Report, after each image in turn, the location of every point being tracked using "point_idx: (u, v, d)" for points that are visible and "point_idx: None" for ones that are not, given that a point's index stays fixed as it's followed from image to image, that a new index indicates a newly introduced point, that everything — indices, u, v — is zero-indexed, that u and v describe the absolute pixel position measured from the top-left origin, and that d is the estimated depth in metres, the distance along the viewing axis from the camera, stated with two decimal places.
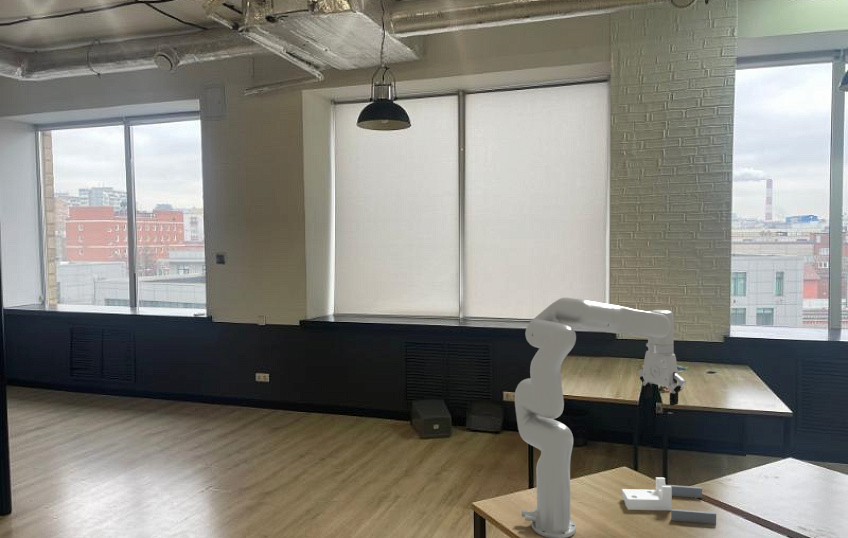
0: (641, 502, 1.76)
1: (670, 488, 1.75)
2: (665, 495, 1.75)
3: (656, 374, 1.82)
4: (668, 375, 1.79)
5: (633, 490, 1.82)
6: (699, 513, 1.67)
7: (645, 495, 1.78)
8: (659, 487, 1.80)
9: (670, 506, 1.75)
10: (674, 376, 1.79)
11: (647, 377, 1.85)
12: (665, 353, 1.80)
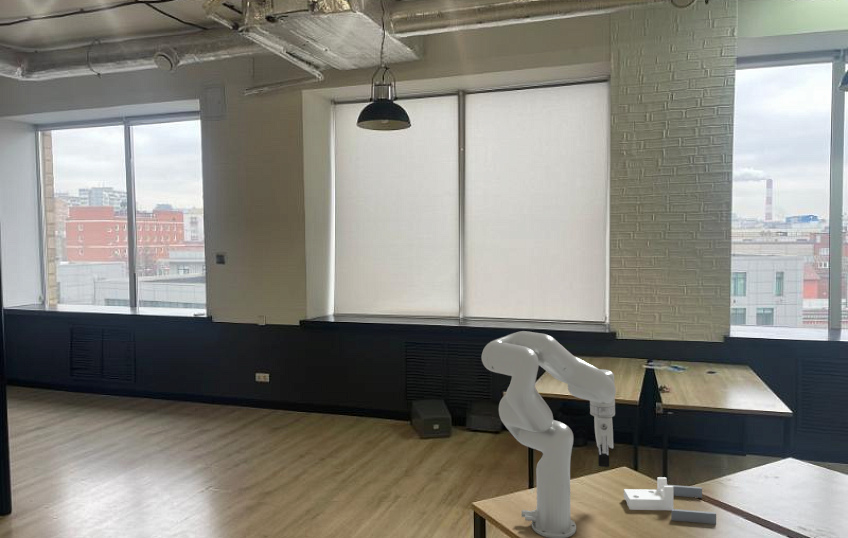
0: (643, 502, 1.76)
1: (672, 488, 1.75)
2: (667, 495, 1.75)
3: None
4: None
5: (635, 490, 1.82)
6: (699, 513, 1.67)
7: (647, 495, 1.78)
8: (661, 487, 1.80)
9: (672, 506, 1.75)
10: None
11: None
12: None
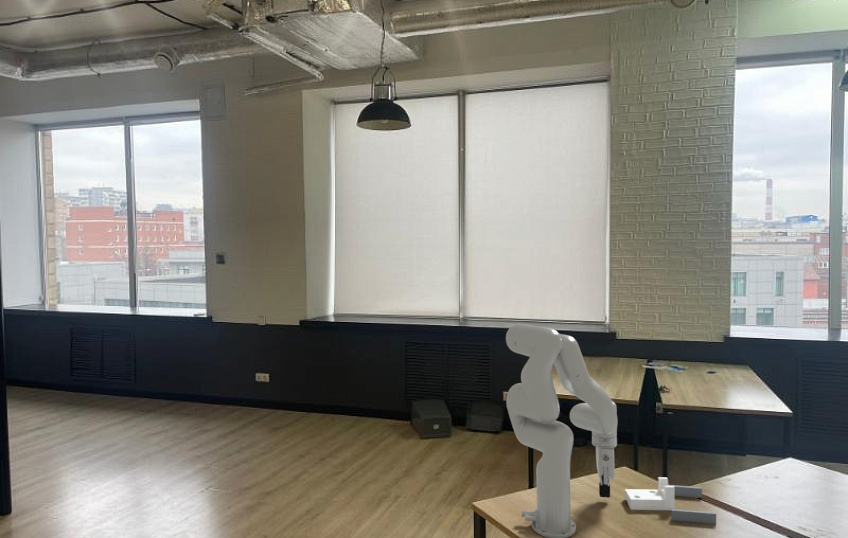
0: (644, 503, 1.76)
1: (673, 488, 1.75)
2: (668, 495, 1.75)
3: None
4: None
5: (636, 490, 1.82)
6: (699, 513, 1.67)
7: (648, 495, 1.78)
8: (662, 487, 1.80)
9: (673, 506, 1.75)
10: None
11: None
12: None
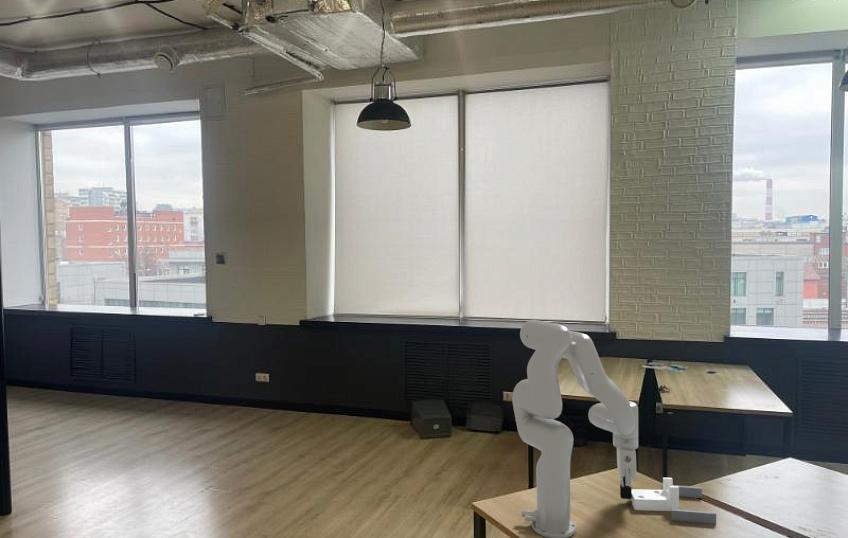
0: (649, 503, 1.75)
1: (677, 488, 1.74)
2: (672, 496, 1.74)
3: None
4: None
5: (640, 490, 1.81)
6: (699, 513, 1.67)
7: (652, 496, 1.78)
8: (666, 487, 1.79)
9: (677, 506, 1.74)
10: None
11: None
12: None
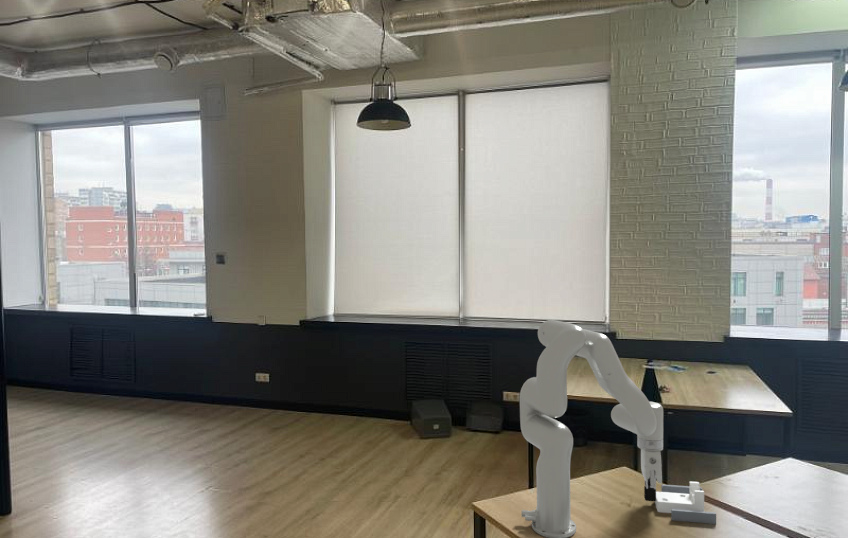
0: (672, 506, 1.73)
1: (702, 493, 1.71)
2: (697, 500, 1.71)
3: None
4: None
5: (665, 493, 1.79)
6: (699, 513, 1.67)
7: (677, 499, 1.75)
8: (692, 491, 1.76)
9: None
10: None
11: None
12: None
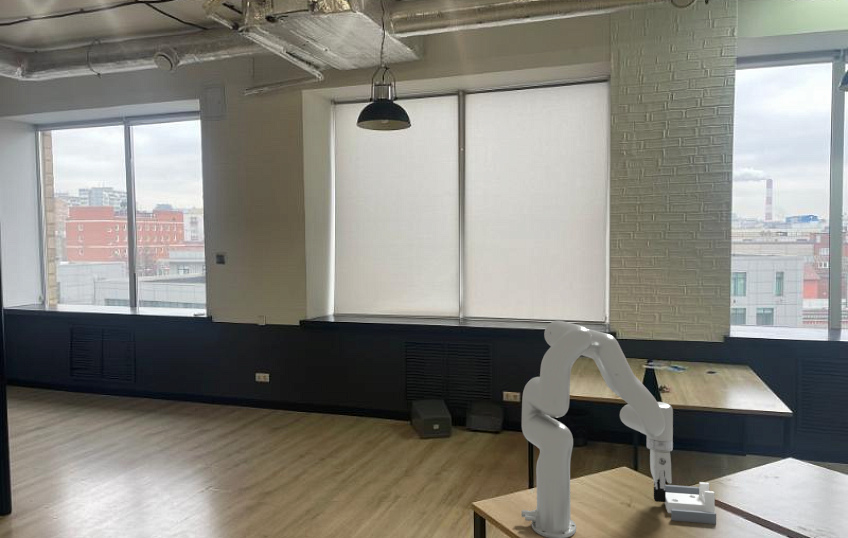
0: (682, 507, 1.73)
1: (713, 494, 1.70)
2: (707, 501, 1.71)
3: None
4: None
5: (675, 494, 1.79)
6: (699, 513, 1.67)
7: (687, 500, 1.75)
8: (702, 492, 1.76)
9: None
10: None
11: None
12: None
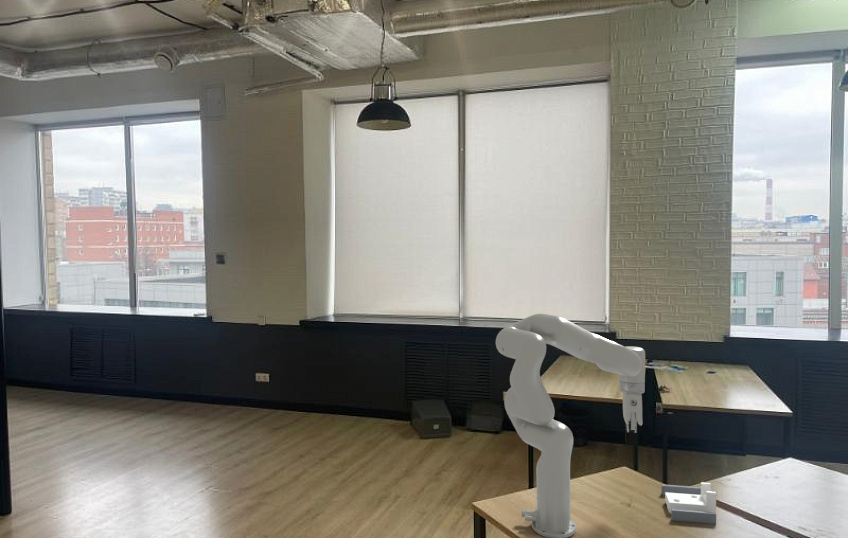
0: (684, 507, 1.72)
1: (714, 494, 1.70)
2: (709, 501, 1.71)
3: None
4: None
5: (676, 494, 1.78)
6: (699, 513, 1.67)
7: (688, 500, 1.74)
8: (704, 492, 1.75)
9: None
10: None
11: None
12: None
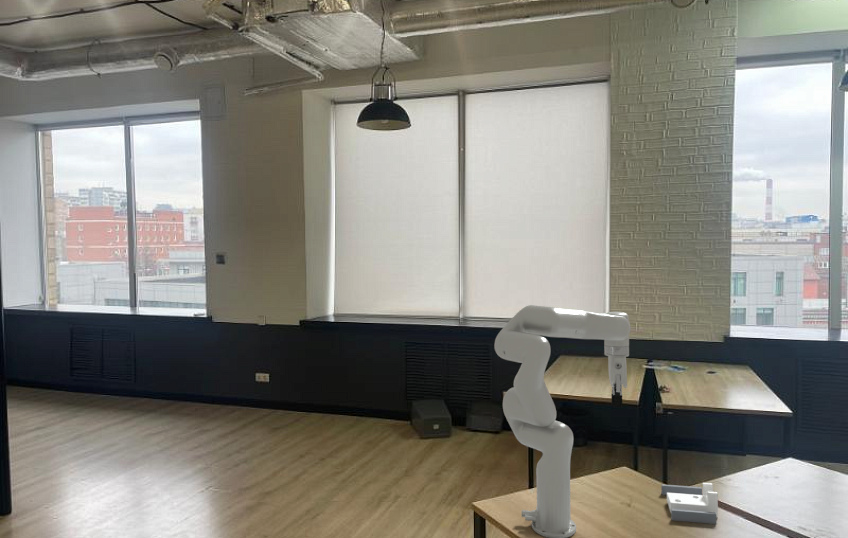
0: (685, 507, 1.72)
1: (716, 494, 1.70)
2: (710, 501, 1.70)
3: None
4: None
5: (678, 494, 1.78)
6: (699, 513, 1.67)
7: (690, 500, 1.74)
8: (706, 493, 1.75)
9: (716, 513, 1.70)
10: None
11: None
12: None
